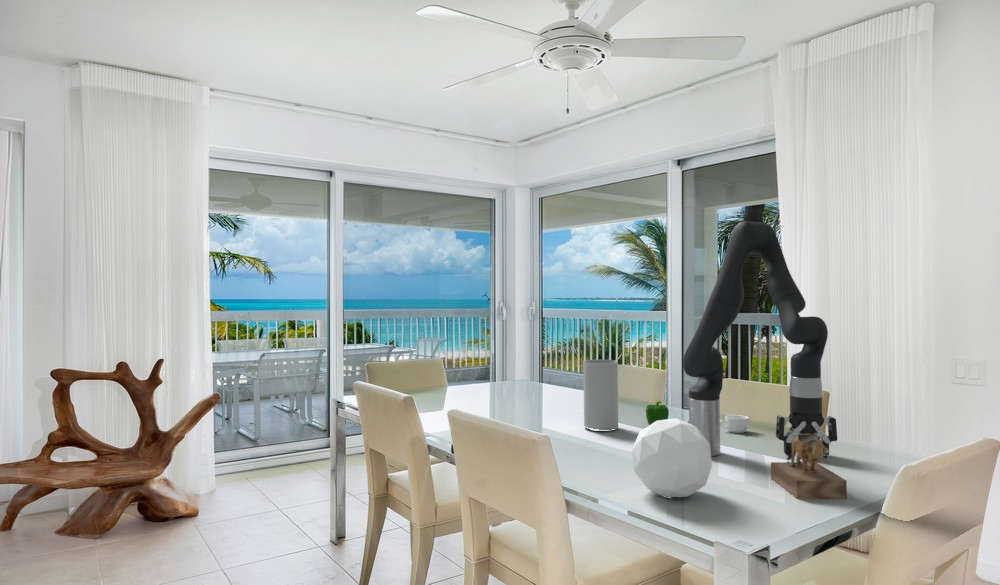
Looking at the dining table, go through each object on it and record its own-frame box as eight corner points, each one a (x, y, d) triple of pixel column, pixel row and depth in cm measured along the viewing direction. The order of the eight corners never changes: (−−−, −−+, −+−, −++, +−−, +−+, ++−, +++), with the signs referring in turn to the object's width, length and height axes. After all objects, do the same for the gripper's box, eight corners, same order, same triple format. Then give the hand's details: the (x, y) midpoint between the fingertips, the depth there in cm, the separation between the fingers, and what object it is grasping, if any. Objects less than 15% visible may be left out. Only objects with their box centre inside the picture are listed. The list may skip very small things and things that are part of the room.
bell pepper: (645, 423, 238) (644, 397, 238) (667, 424, 237) (666, 398, 237) (647, 428, 230) (646, 401, 230) (670, 429, 229) (669, 402, 229)
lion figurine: (832, 477, 155) (832, 441, 155) (812, 478, 155) (812, 442, 154) (795, 460, 170) (795, 427, 170) (777, 461, 169) (777, 428, 169)
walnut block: (796, 500, 153) (796, 480, 153) (771, 480, 169) (770, 462, 169) (846, 501, 152) (846, 480, 152) (816, 480, 168) (816, 462, 168)
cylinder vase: (621, 432, 225) (620, 363, 225) (586, 432, 225) (585, 363, 225) (615, 424, 237) (614, 359, 237) (582, 425, 238) (581, 359, 237)
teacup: (744, 429, 227) (743, 414, 227) (752, 434, 219) (751, 419, 219) (716, 429, 227) (716, 414, 227) (723, 434, 220) (723, 419, 220)
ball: (675, 529, 152) (654, 477, 142) (629, 479, 169) (608, 429, 159) (736, 486, 155) (720, 432, 145) (685, 441, 172) (668, 390, 162)
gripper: (781, 396, 158) (782, 460, 158) (841, 396, 156) (841, 461, 156) (772, 391, 165) (773, 452, 165) (829, 391, 163) (829, 453, 163)
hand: (806, 456), depth 160 cm, fingers open, 8 cm apart
